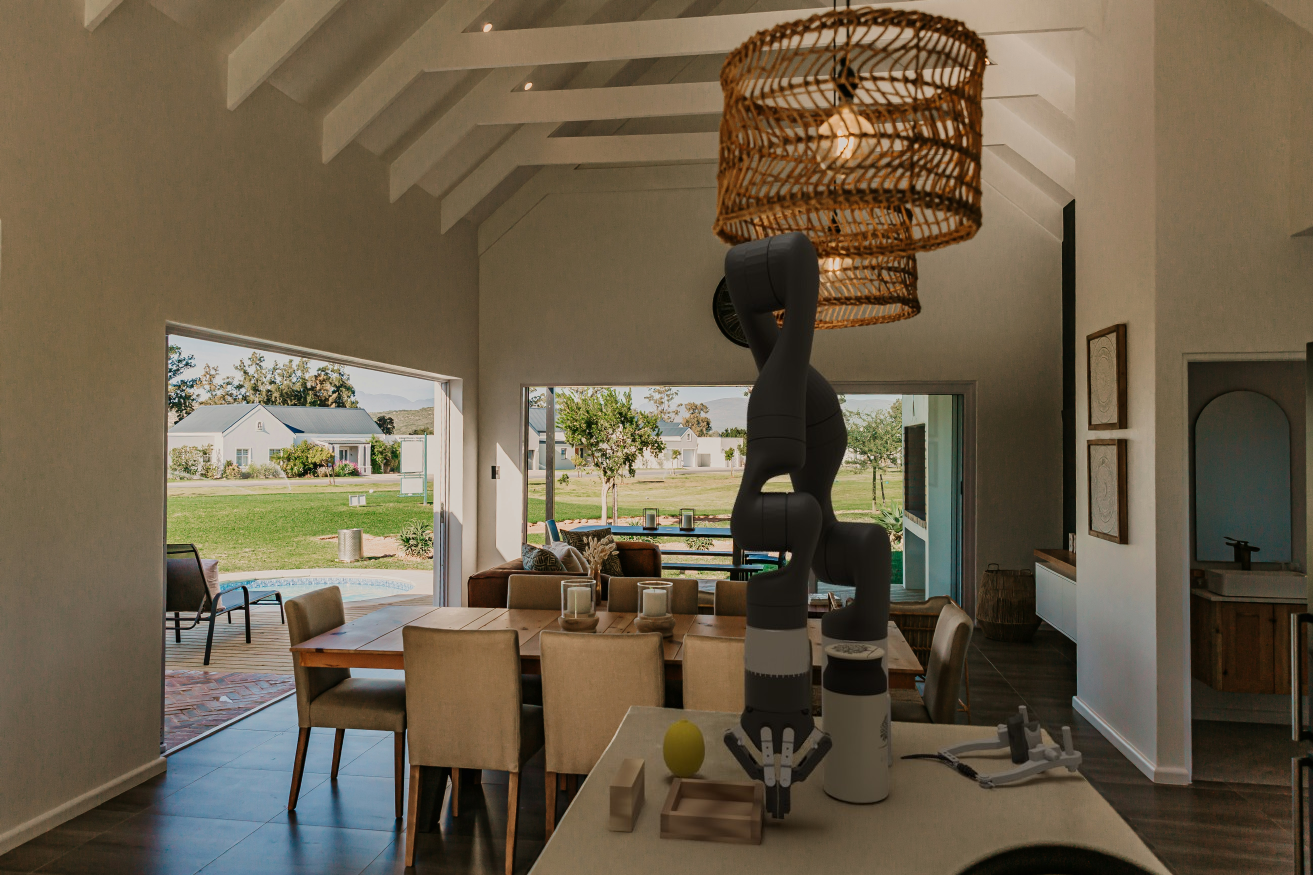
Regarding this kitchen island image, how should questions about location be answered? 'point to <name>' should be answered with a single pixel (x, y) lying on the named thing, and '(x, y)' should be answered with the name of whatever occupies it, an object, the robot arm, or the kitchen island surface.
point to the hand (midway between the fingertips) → (777, 815)
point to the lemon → (683, 748)
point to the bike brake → (1013, 751)
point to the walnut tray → (713, 811)
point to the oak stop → (627, 795)
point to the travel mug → (855, 723)
